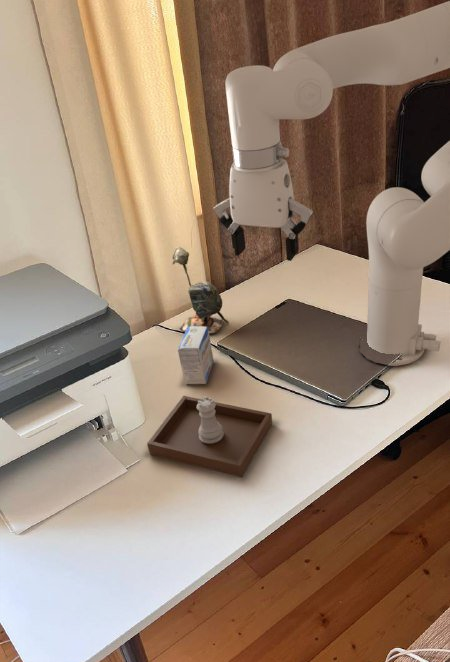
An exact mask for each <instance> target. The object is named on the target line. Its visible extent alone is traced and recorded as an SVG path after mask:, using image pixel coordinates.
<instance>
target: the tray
mask: <svg viewBox="0 0 450 662" xmlns="http://www.w3.org/2000/svg"><path fill="white" fill-rule="evenodd" d="M198 400H199V401H200V398H196V397H191V396H188V395H183V396H182V397H181V398H180V400H179V401H178V402H177V403H176V405H175V406H174V407H173V409H172V410H171V411H170V413H169V414H168V415H167V416H166V418H165V419H164V420H163V422H162V423H161V424H160V426H159V427H158V428H157V430H156V431H155V433H153V435H152V436H151V438H150V439H149V440H148V441H147V443H146V444H147V449H148V452H149V455H151V456H155V457H159V458H164V459H168V460H171V461H175V462H179V463H184V464H188V465H192V466H196V467H199V468H203V469H206V470H207V469H208V470H212V471H215V472H220V473H223V474H227V475H232V476H236V477H238V478H239V477H240V478H243V476H244V475H245V474H246V471H247V470H248V469H249V466H250V464H251V463H252V461H253V459H254V457H255V456H256V454H257V452H258V451H259V448H260V447H261V446H262V443H263V442H264V440H265V438H266V437H267V435H268V433H269V431H270V430H271V428H272V426H273V425H274V424H273V416H272V415H273V414H272V413H271V412H267V411H261V410H257V409H252V408H246V407H242V406H236V405H232V404H227V403H222V402H217V401H214V402H215V404H216V406H215V408H214V409H215V411H216V412H215V417H216V420H217V421H218V422H219V424H221V426H222V428H223V432H224V435H223V437H222V439H221V440H220V441H219V442H217V443H214V444H207V443H204V442H202V441H201V440H200V439H199V433H198V431H199V427H200V425H201V416H200V415H199V412H200V411H199V410H198V409H197V404H198Z"/></svg>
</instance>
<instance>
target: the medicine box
mask: <svg viewBox="0 0 450 662" xmlns="http://www.w3.org/2000/svg"><path fill="white" fill-rule="evenodd" d="M210 337H211V336H210V333H209V330H208V327H203V326H192V327H187V329H186V332H185V331H184V334H183V337H182V339H181V340H180V343H179V346H178V348H177V354H178V358H179V363H180V368H181V372H182V373H181V374H182V377H183V382H184V384H185V385H206V384H207V382H208V379H209V377H210V373H211V370H212V367H213V364H214V362H215V360H214V353H213V349H212V348H213V347H212V342H211V338H210Z"/></svg>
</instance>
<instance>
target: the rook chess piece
mask: <svg viewBox="0 0 450 662" xmlns="http://www.w3.org/2000/svg"><path fill="white" fill-rule="evenodd" d="M199 399H200V401H199V400H198V404H197V409H198V410H199V411H200V412H199V415H200V416H201V425H200V427H199V431H198V433H199V439H200V440H201V441H202V442H204V443H207V444H214V443H217V442H219V441H220V440H221V439H222V437H223V435H224V432H223V428H222V426H221V424H219V422H218V421H217V420H216V417H215V412H216V411H215V409H214V408H215V406H216V404H215V402H216V401H214V400H213V398H212V397H210V396H204V397H200V398H199Z"/></svg>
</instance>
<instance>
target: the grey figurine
mask: <svg viewBox="0 0 450 662" xmlns="http://www.w3.org/2000/svg"><path fill="white" fill-rule="evenodd" d="M189 256H190V253H189V252H188V251H187V250H185V249H184V248H183V247H180V246H177V247H176V248H175V250H174V251H173V255H172V263H171V265H175V264H178V265H179V266H180V265H181V266H182V267H183V270H184V273H185V274H186V277H187V282H188V286H189V287H188V290H187V292H188V295H189V299H190V302H191V305H192V309H193V311H194V314H193V316H191V317H187V318H186V320H185V321H184V322H183V323H182V325H181V326H180V327H179V330H180V331H183V332H184V333H185V332H186V329H187V327H192V326H203V327H208V330H209V334H215V333H217V332H218V331H220V329H221V327H222V326H224V324H223V323H224V322H225V323H226V324H227V325H230V321H229V320H228V319H226V318H225V317H224V315H223V313H222V312H221V310H222V308H223V298H222V295H221V294H220V292H219V290H218V289H217V288H216V287H215V285H213V283H210V282H209V281H203V282H201V281H200V282H196V283H195V284H191V279H190V276H189V274H188V269H187V264H188V262H189V258H190V257H189ZM216 314H217V315H218V316H219V317H220V318H217V317H215V316H213V315H216Z"/></svg>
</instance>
